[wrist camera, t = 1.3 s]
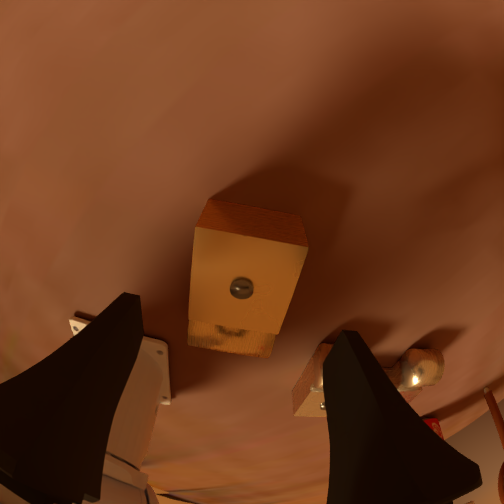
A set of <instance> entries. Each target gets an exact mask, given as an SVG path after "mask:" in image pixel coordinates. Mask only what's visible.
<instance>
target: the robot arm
mask: <svg viewBox="0 0 504 504" xmlns="http://www.w3.org/2000/svg"><path fill="white" fill-rule="evenodd" d="M69 322H70V325H71V328H72V331H73V334H74V336H73V337H72V338H71V339H70V340H69V341H67V342H66V343H65V344H64V345H62V346H61V347H60V348H58V349H57V350H56V351H54V352H53V353H52V354H50V355H49V356H47V357H46V358H45V359H43V360H42V361H40V362H39V363H37V364H35V365H34V366H32V367H31V368H29V369H27V370H26V371H24V372H22V373H21V374H19V375H17V376H15V377H13V378H11V379H9V380H7V381H5V382H3V383H1V384H0V504H159V502H158V500H157V498H156V495H155V492H154V490H153V489H152V487H151V486H150V485H149V484H147V480H148V475H147V474H145V473H142V472H140V468H141V463H142V461H143V460H144V459H145V457H146V455H147V452H148V449H149V444H150V440H151V436H152V432H153V428H154V424H155V420H156V416H157V412H158V408H159V404H160V403H162V404H166V405H169V404H171V391H170V377H169V361H168V345H167V344H166V343H165V342H164V341H161V340H157V339H153V338H149V337H145V336H144V331H143V322H142V313H141V302H140V296H139V295H134V294H130V293H126V292H124V293H122V294H121V295H120V296H119V297H118V298H117V299H115V300H114V301H113V302H112V303H111V304H110V305H109V306H108V307H107V308H106V309H104V310H103V311H102V312H101V313H100V314H99V315H98V316H97V317H96V318H94V319H93V320H92V321H87V320H84V319H81V318H78V317H74V316H72V317H71V319H70V320H69ZM323 392H324V400H325V407H326V414H327V422H328V430H329V438H330V474H329V488H328V497H327V504H453V500H455V499H457V498H459V497H461V496H463V495H465V494H467V493H469V492H471V491H473V490H475V489H476V488H478V487H480V486H481V485H482V478H481V473H480V469H479V466H478V464H476V463H475V462H473V461H471V460H470V459H468V458H467V457H465V456H464V455H462V454H461V453H459V452H458V451H457V450H455V449H454V448H453V447H451V446H450V445H449V444H448V443H447V442H445V441H444V440H443V439H442V438H441V437H440V436H439V435H437V434H436V433H435V432H434V431H433V430H432V429H431V428H430V427H429V426H428V425H427V424H426V423H425V422H424V421H423V420H422V419H421V418H420V416H419V415H418V414H417V413H416V412H415V411H414V410H413V409H412V407H411V406H410V405H409V404H408V403H407V401H406V400H405V399H404V397H403V396H402V395H401V394H400V392H399V391H398V390H397V388H396V387H395V386H394V384H393V383H392V382H391V380H390V379H389V377H388V376H387V374H386V373H385V372H384V370H383V369H382V367H381V366H380V364H379V363H378V361H377V360H376V358H375V357H374V355H373V354H372V352H371V351H370V349H369V348H368V346H367V345H366V343H365V342H364V340H363V339H362V338H361V336H360V335H359V333H358V332H357V331H348V330H342V331H341V333H340V335H339V337H338V338H337V340H336V342H335V343H334V345H333V347H332V348H331V350H330V352H329V353H328V355H327V357H326V358H325V360H324V362H323ZM466 504H475V503H474V501H470V502H468V503H466Z"/></svg>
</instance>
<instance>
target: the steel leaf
mask: <svg viewBox="0 0 504 504" xmlns="http://www.w3.org/2000/svg"><path fill="white" fill-rule="evenodd" d="M333 345H334V344H327V343H321V344H319V345H318V347H317V349H316V351H315V353H314V356H312V358H311V359H310V361H309V363H308V365H307V367H306V368H305V370H304V372H303V373H302V375H301V377H300V379H299V380H298V382H297V384H296V385H295V387H294V389H293V390H292V400H293V416H308V417H327V414H326V407H325V400H324V392H323V362H324V360H325V358H326V357H327V355H328V353H329V352H330V350H331V348H332V347H333ZM382 369H383V370H384V372H385V373H386V374H387V376H388V377H389V379H390V380H391V382H392V383H393V384H394V386H395V387H396V388H397V390H398V391H399V392H400V394H401V395H402V396H403V397H404V399H405V400H406V401H407V403H409V402H410V401H411V400H413V399H414V398H415V397H416V396H417V395H418V394H419V393H420V392H421V391H422V386H432V385H435V384H436V383H438V382H439V380H440V379H441V377H442V375H443V372H444V358H443V355H442V353H441V352H440V351H439V350H437V349H409V350H407V351H406V352H405V353H404V354H403V356H402V357H401V360H400V361H398V362H397V363H396V364H395V365H394V366H393V368H382Z"/></svg>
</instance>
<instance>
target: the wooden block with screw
mask: <svg viewBox="0 0 504 504" xmlns="http://www.w3.org/2000/svg"><path fill="white" fill-rule="evenodd" d="M308 249H309V245H308V242H307V238H306V234H305V230H304V226H303V223H302V219H301V216H298V215H293V214H288V213H283V212H278V211H273V210H268V209H263V208H258V207H253V206H247V205H242V204H236V203H231V202H225V201H219V200H214V199H208V201H207V203H206V205H205V207H204V209H203V211H202V213H201V216H200V218H199V220H198V222H197V224H196V226H195V234H194V245H193V256H192V268H191V281H190V295H189V312H188V319H189V326H188V334H187V345H189V346H194V347H199V348H204V349H210V350H215V351H221V352H227V353H233V354H240V355H247V356H254V357H261V358H269V356H270V354H271V352H272V348H273V345H274V341H275V335H276V334H278V333H279V331H280V328H281V326H282V323H283V320H284V318H285V315H286V312H287V309H288V307H289V304H290V301H291V298H292V296H293V293H294V290H295V287H296V284H297V281H298V279H299V276H300V273H301V270H302V267H303V264H304V261H305V258H306V255H307V252H308Z"/></svg>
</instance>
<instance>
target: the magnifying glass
mask: <svg viewBox="0 0 504 504" xmlns="http://www.w3.org/2000/svg"><path fill="white" fill-rule="evenodd" d="M484 393H485V395H484V397H485V399H486V401H487V404H488V406H489V409H490V411H491V414H492V416H493V419H494V422H495V425H496V428H497V430H498V433H499V436H500V439H501V443H502V446H503V449H504V421H503V418H502V416H501V413H500V411H499V408H498V406H497V403H496V401H495V398H494V396H493V394H492V391H489V388H488V387H485V388H484ZM498 491H499V497H500V500H501V503H502V504H504V462H503V464H502V466H501V469H500V473H499V478H498Z"/></svg>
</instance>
